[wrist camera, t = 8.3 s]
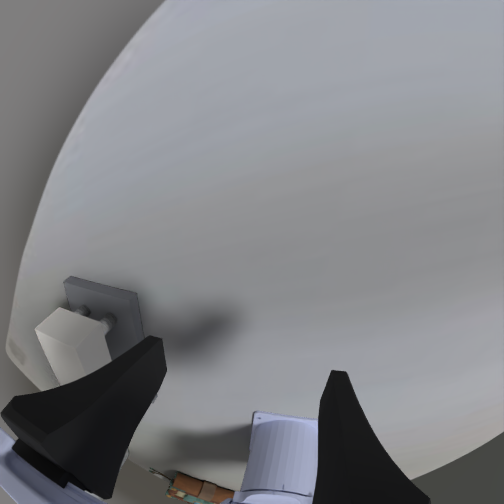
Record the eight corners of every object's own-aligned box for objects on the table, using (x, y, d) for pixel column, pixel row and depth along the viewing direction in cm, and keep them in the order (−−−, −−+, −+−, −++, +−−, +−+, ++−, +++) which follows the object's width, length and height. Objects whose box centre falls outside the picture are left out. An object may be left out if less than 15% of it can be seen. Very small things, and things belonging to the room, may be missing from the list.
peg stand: (157, 396, 29) (144, 419, 26) (101, 375, 30) (86, 395, 27) (136, 293, 23) (113, 317, 20) (70, 276, 24) (46, 294, 21)
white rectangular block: (59, 306, 21) (34, 328, 18) (100, 321, 20) (75, 348, 17) (92, 393, 26) (77, 414, 23) (129, 409, 25) (114, 433, 22)
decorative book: (153, 456, 39) (142, 477, 34) (247, 490, 38) (241, 512, 34) (148, 473, 45) (140, 490, 40) (226, 502, 44) (220, 520, 40)
